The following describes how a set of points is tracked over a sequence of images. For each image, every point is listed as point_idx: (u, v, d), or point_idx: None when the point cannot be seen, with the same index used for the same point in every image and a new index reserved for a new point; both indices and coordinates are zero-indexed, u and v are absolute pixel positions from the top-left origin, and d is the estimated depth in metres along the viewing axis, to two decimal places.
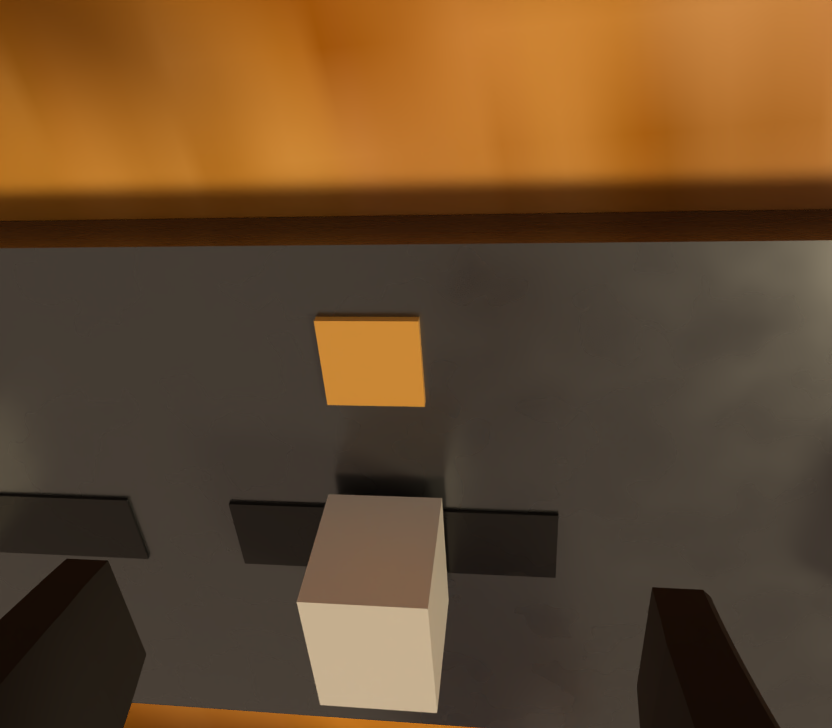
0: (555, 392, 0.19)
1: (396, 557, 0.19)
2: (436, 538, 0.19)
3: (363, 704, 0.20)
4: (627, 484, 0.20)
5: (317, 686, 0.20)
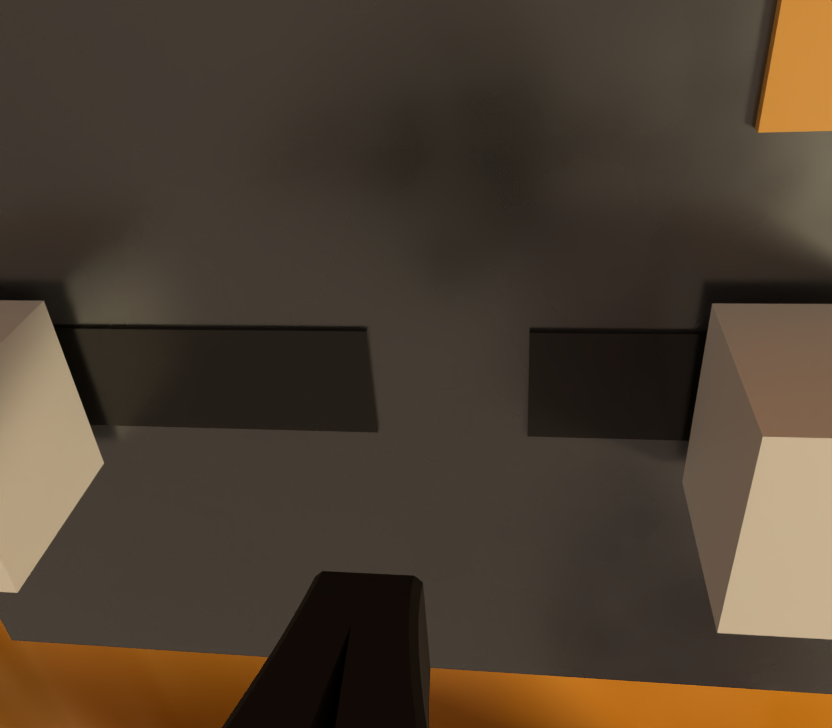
0: None
1: None
2: None
3: (788, 632, 0.12)
4: None
5: (727, 599, 0.12)
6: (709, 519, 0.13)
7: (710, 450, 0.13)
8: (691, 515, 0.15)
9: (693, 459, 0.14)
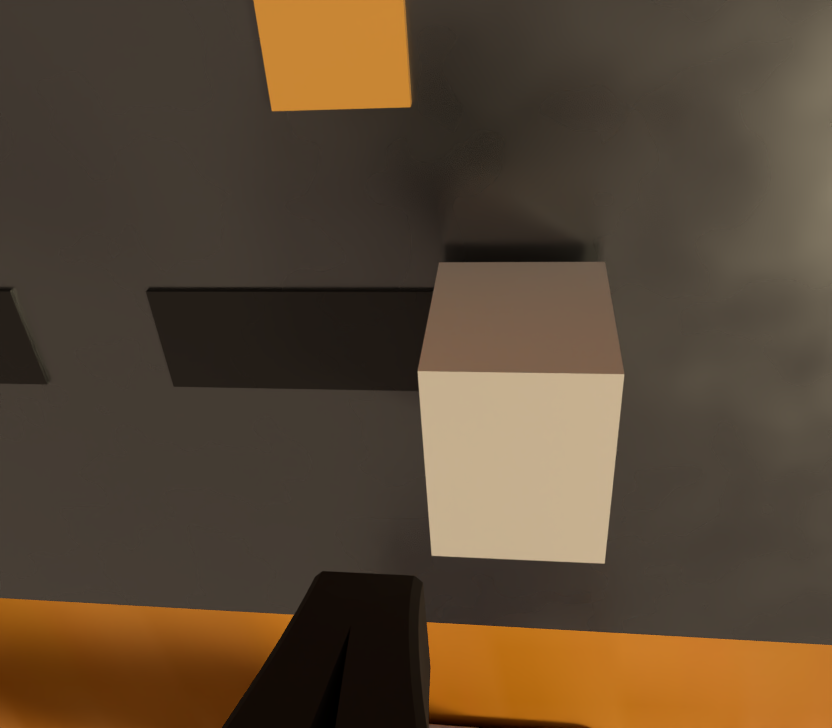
0: (599, 77, 0.13)
1: (558, 320, 0.13)
2: (610, 301, 0.13)
3: (493, 554, 0.14)
4: (695, 235, 0.14)
5: (431, 524, 0.14)
6: None
7: None
8: None
9: None
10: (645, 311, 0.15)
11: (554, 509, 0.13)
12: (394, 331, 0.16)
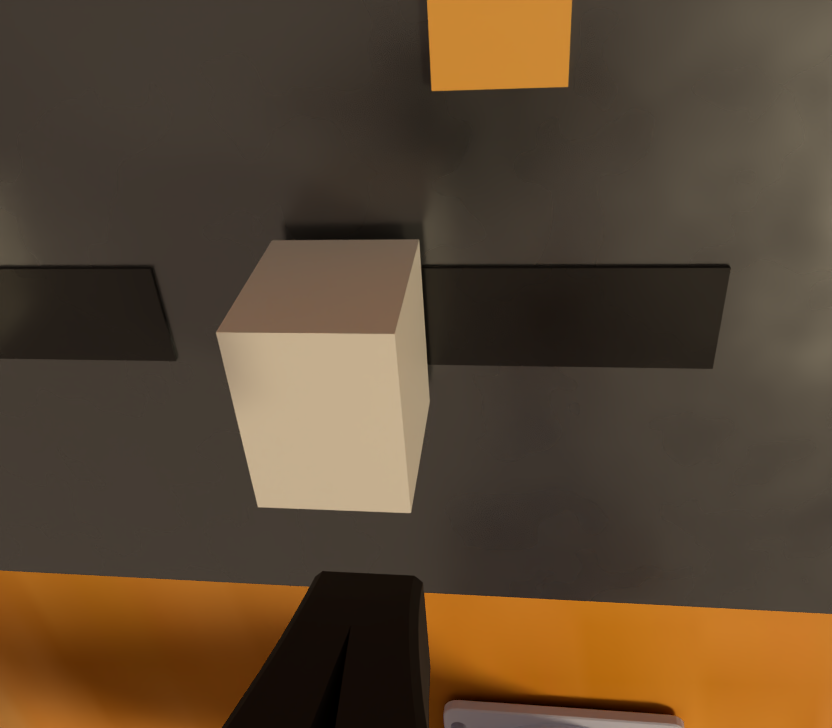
0: (754, 57, 0.13)
1: (356, 289, 0.14)
2: (410, 273, 0.14)
3: (314, 505, 0.15)
4: None
5: (252, 476, 0.15)
6: None
7: None
8: None
9: None
10: (775, 287, 0.16)
11: (357, 461, 0.14)
12: (526, 307, 0.17)
